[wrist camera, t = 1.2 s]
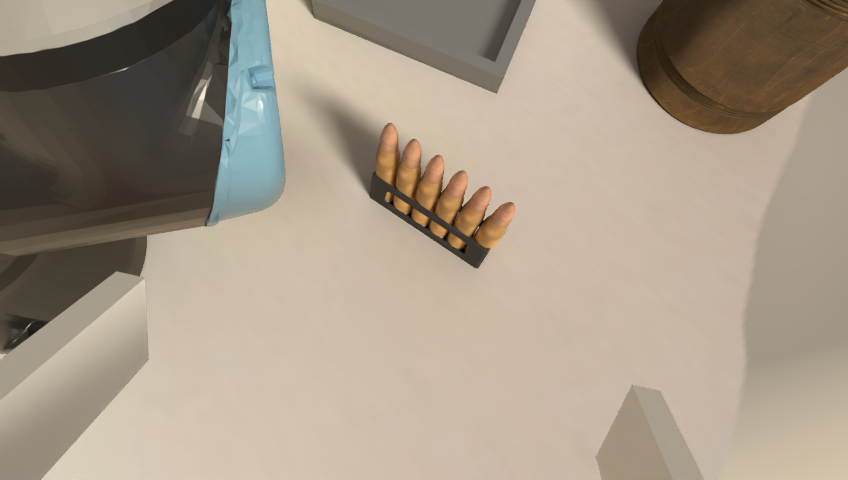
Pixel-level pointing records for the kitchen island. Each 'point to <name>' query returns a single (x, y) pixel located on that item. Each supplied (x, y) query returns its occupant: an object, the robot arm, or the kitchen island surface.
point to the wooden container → (740, 57)
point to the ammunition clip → (417, 206)
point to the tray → (438, 31)
